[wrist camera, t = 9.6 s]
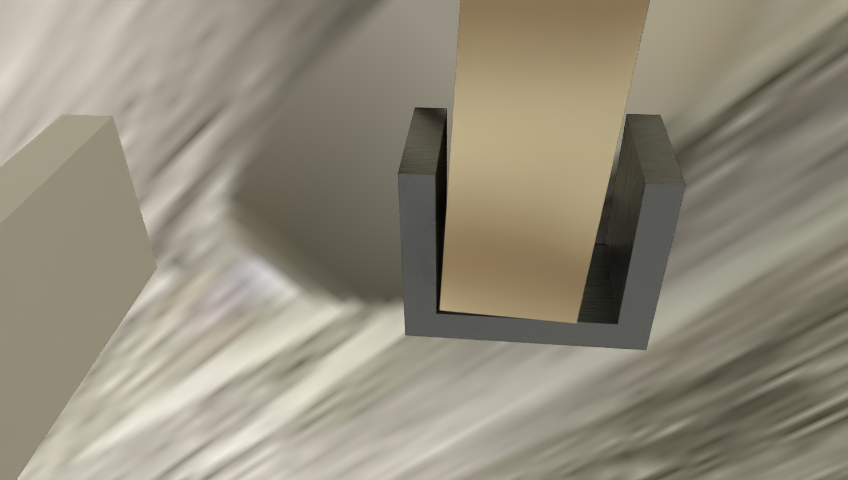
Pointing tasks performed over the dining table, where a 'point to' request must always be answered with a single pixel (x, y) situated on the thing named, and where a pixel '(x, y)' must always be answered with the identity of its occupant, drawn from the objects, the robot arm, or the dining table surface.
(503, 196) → the tan long bar
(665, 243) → the grey u-channel bracket
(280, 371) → the dining table surface
